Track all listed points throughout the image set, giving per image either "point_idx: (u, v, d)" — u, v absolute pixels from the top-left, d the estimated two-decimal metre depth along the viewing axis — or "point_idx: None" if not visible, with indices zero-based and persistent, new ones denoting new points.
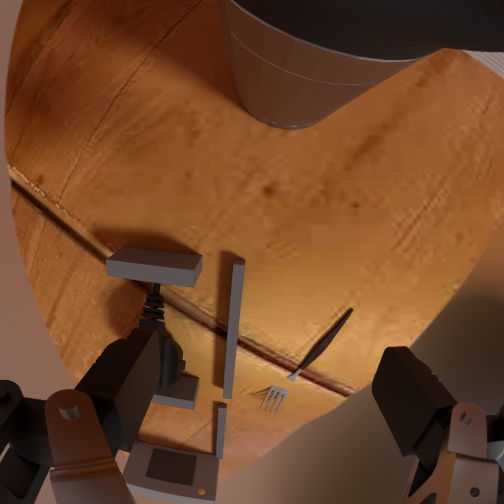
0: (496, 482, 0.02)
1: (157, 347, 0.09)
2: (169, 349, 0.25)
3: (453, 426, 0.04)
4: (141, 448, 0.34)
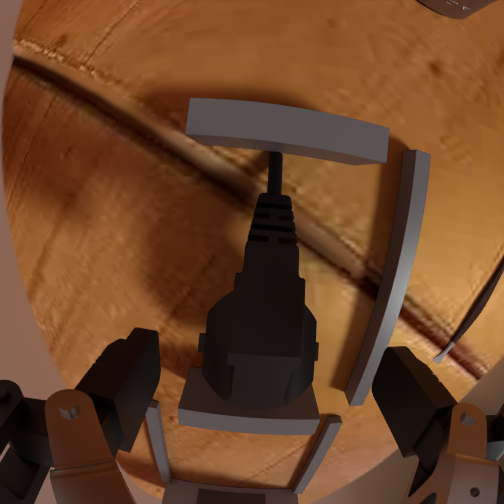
0: (496, 482, 0.02)
1: (157, 347, 0.09)
2: None
3: (453, 426, 0.04)
4: (179, 490, 0.20)
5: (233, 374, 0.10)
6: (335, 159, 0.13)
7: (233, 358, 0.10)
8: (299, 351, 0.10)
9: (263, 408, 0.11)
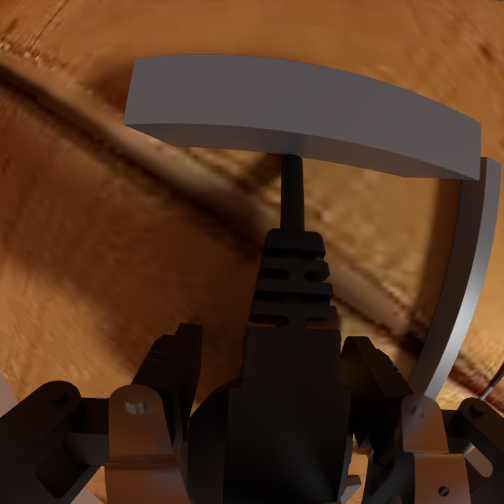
0: (465, 476, 0.02)
1: (200, 341, 0.09)
2: None
3: (405, 421, 0.05)
4: None
5: None
6: (385, 168, 0.08)
7: None
8: (335, 495, 0.04)
9: None
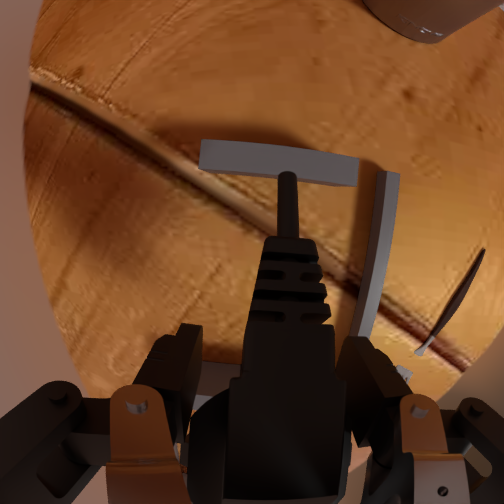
0: (464, 476, 0.03)
1: (201, 341, 0.09)
2: None
3: (404, 421, 0.05)
4: None
5: None
6: (317, 183, 0.16)
7: (231, 503, 0.04)
8: (335, 488, 0.04)
9: None
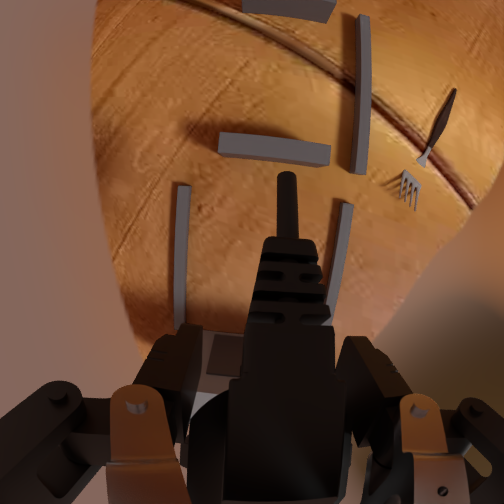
0: (464, 476, 0.03)
1: (202, 341, 0.09)
2: None
3: (404, 421, 0.05)
4: None
5: None
6: (314, 15, 0.18)
7: None
8: (335, 489, 0.04)
9: None
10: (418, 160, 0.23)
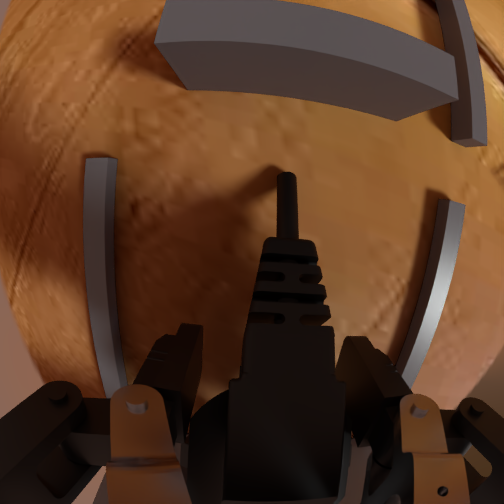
0: (464, 476, 0.03)
1: (202, 341, 0.09)
2: None
3: (404, 421, 0.05)
4: None
5: None
6: None
7: None
8: (335, 489, 0.04)
9: None
10: None
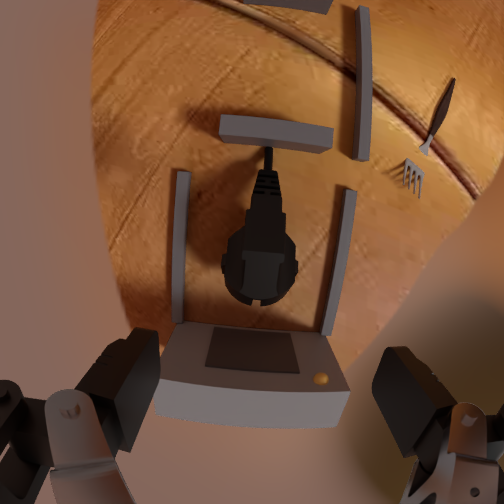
0: (496, 482, 0.02)
1: (157, 347, 0.09)
2: (284, 241, 0.21)
3: (453, 426, 0.04)
4: (191, 329, 0.24)
5: (245, 267, 0.18)
6: (314, 6, 0.18)
7: (245, 254, 0.18)
8: (283, 250, 0.18)
9: (263, 298, 0.19)
10: (420, 148, 0.22)
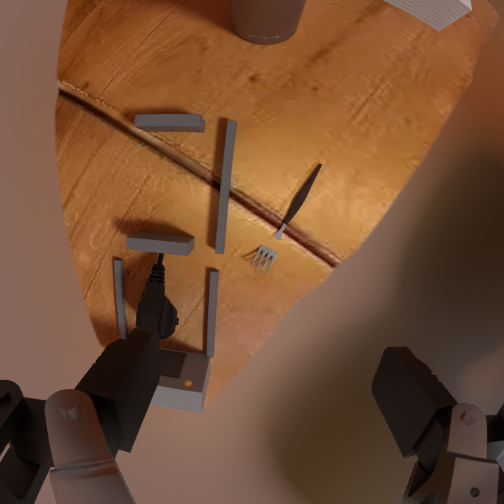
0: (496, 482, 0.02)
1: (157, 347, 0.09)
2: (167, 306, 0.35)
3: (453, 426, 0.04)
4: None
5: (142, 322, 0.33)
6: (191, 130, 0.32)
7: (140, 316, 0.32)
8: (158, 315, 0.32)
9: None
10: (274, 235, 0.36)
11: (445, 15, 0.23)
